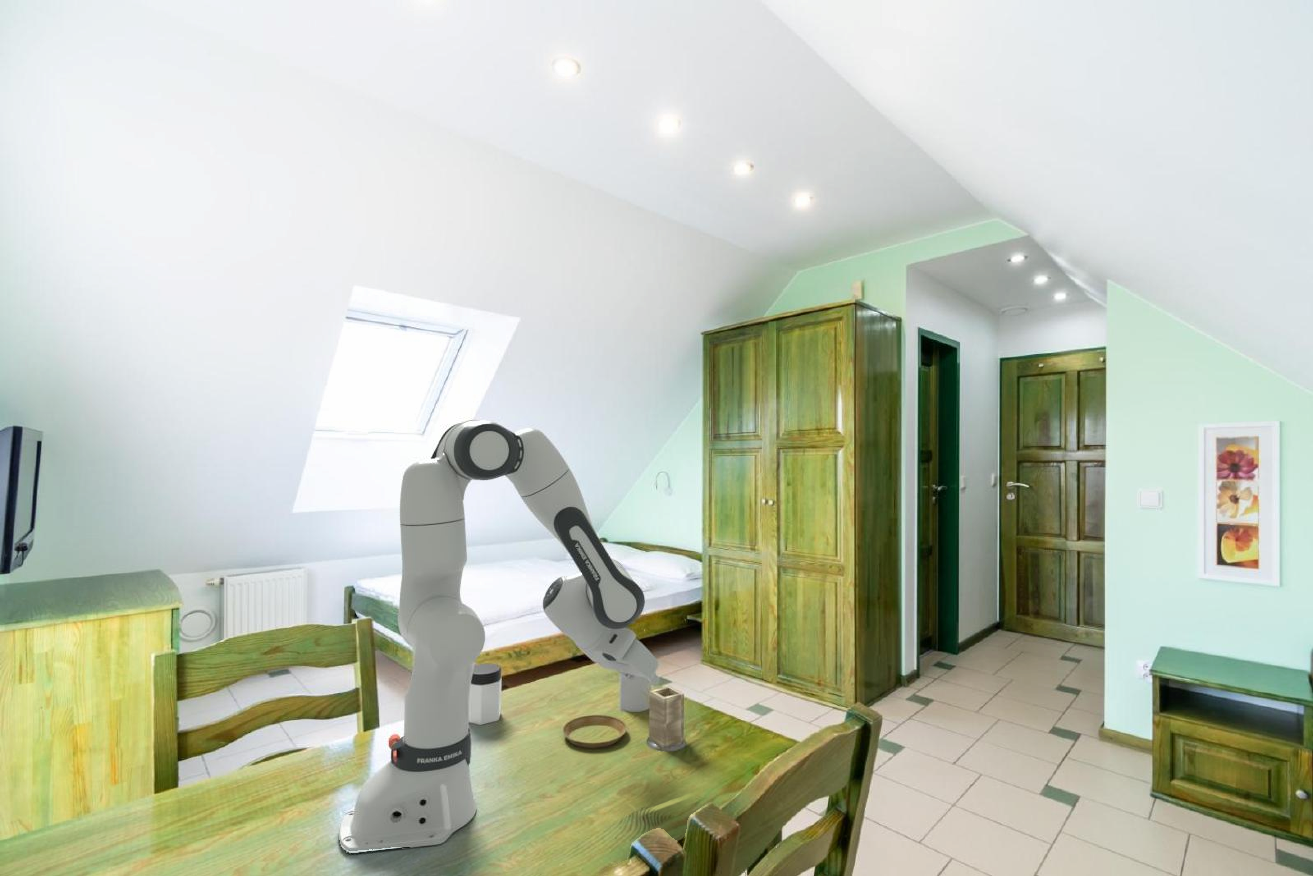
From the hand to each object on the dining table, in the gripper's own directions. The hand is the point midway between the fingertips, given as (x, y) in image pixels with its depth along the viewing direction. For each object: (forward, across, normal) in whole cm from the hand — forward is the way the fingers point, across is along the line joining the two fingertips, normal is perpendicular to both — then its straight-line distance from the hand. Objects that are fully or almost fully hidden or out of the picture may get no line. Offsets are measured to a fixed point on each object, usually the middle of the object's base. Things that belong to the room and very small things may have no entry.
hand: (644, 680), depth 136 cm
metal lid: (+17, -5, -6) cm, 18 cm away
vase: (+16, -5, -5) cm, 18 cm away
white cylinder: (+18, -26, 0) cm, 32 cm away
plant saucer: (+7, -17, -13) cm, 22 cm away
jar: (-8, -41, -22) cm, 48 cm away
